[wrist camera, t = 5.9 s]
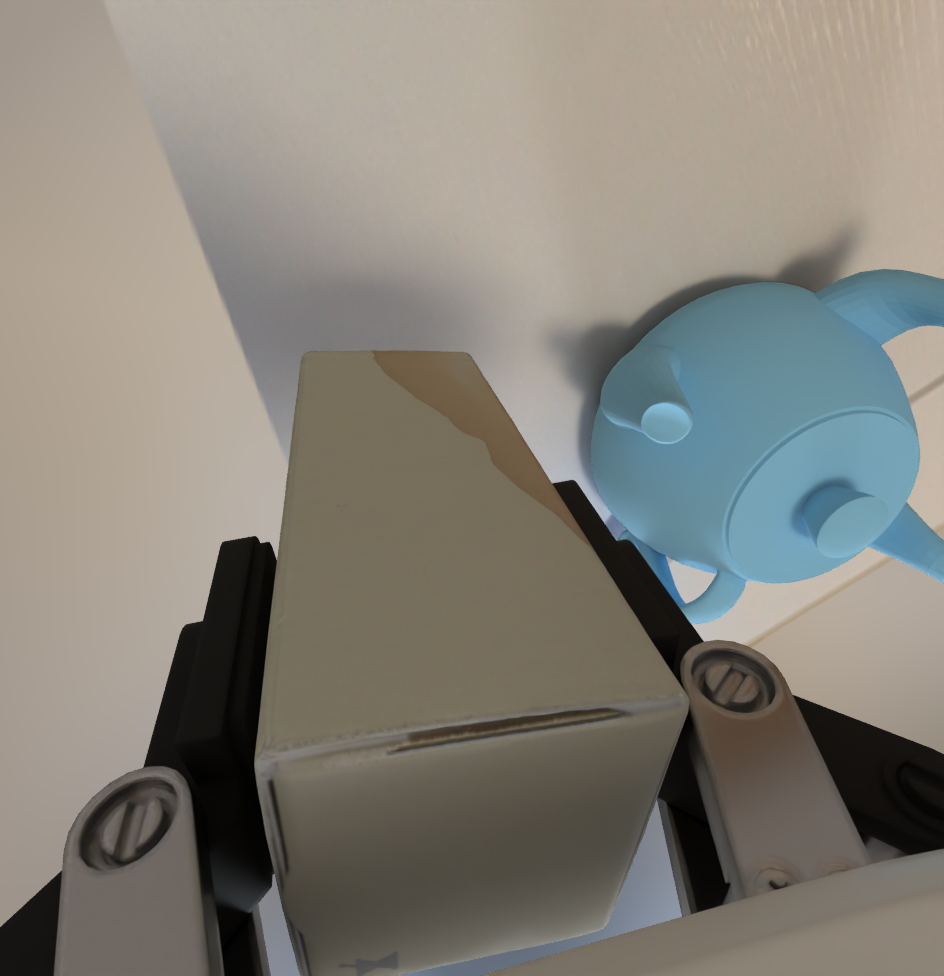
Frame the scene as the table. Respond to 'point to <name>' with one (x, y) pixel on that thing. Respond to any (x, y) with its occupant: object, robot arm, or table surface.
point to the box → (444, 683)
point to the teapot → (768, 435)
